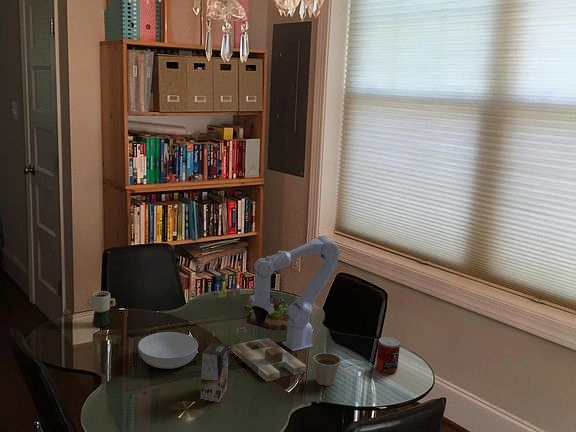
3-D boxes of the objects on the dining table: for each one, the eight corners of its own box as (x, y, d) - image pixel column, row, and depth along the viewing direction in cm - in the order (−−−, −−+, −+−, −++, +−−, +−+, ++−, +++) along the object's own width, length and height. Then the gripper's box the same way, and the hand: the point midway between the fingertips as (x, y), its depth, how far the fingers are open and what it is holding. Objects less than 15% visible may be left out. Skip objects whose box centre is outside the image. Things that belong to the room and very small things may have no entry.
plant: (260, 308, 288) (262, 284, 286) (303, 316, 283) (304, 291, 280) (243, 324, 270) (244, 298, 267) (288, 333, 264) (289, 307, 262)
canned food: (384, 375, 232) (387, 347, 230) (371, 366, 239) (374, 338, 236) (401, 372, 236) (404, 344, 233) (388, 363, 242) (391, 335, 240)
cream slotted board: (267, 343, 252) (267, 337, 251) (305, 372, 231) (306, 365, 230) (230, 351, 243) (230, 345, 243) (266, 381, 222) (267, 374, 222)
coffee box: (219, 403, 207) (221, 355, 203) (199, 399, 208) (201, 352, 204) (227, 389, 215) (229, 344, 212) (208, 386, 216) (210, 341, 213)
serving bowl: (125, 367, 226) (126, 349, 224) (157, 345, 245) (158, 327, 243) (179, 381, 219) (179, 362, 217) (207, 356, 238) (208, 338, 237)
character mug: (116, 321, 263) (116, 291, 260) (113, 328, 256) (114, 297, 253) (88, 321, 262) (88, 290, 259) (85, 328, 255) (84, 296, 252)
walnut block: (275, 356, 236) (276, 347, 235) (282, 361, 233) (282, 352, 232) (264, 358, 234) (265, 349, 233) (271, 363, 230) (272, 354, 229)
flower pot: (330, 391, 219) (332, 367, 217) (306, 382, 223) (308, 359, 221) (343, 381, 226) (345, 358, 224) (320, 373, 231) (321, 350, 229)
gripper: (243, 285, 246) (241, 319, 249) (263, 298, 234) (260, 333, 238) (259, 283, 250) (257, 316, 253) (279, 295, 238) (277, 330, 241)
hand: (260, 324), depth 246 cm, fingers closed
